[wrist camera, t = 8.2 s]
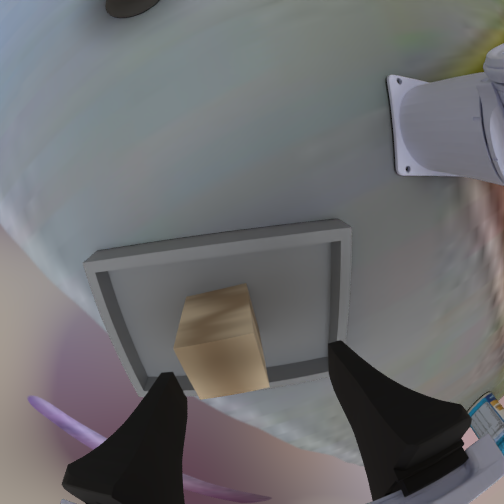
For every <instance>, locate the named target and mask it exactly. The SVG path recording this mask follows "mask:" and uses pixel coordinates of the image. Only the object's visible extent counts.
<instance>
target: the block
mask: <svg viewBox="0 0 504 504" xmlns="http://www.w3.org/2000/svg"><path fill="white" fill-rule="evenodd" d="M173 350H174V352H175V354H176V356H177V358H178V359H179V361H180V363H181V365H182V367H183V369H184V371H185V373H186V375H187V377H188V378H189V380H190V382H191V384H192V386H193V388H194V389H195V391H196V393H197V395H198V396H199V398H200V400H201V399H208V398H215V397H221V396H227V395H233V394H239V393H244V392H249V391H254V390H259V389H264V388H268V387H270V386H269V380H268V375H267V370H266V364H265V359H264V353H263V348H262V343H261V337H260V332H259V328H258V325H257V321H256V317H255V314H254V310H253V306H252V302H251V299H250V295H249V291H248V288H247V284H246V283H244V284H240V285H236V286H231V287H227V288H223V289H219V290H214V291H210V292H206V293H201V294H197V295H192V296H188V297H186V300H185V303H184V307H183V311H182V315H181V319H180V323H179V327H178V331H177V335H176V339H175V343H174V347H173Z"/></svg>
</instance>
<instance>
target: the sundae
mask: <svg viewBox="0 0 504 504" xmlns="http://www.w3.org/2000/svg"><path fill="white" fill-rule="evenodd" d="M158 1H159V0H106V11H107V12H108V13H109V14H110V15H111V16H114V17H117V18H125V17H131V16H134V15H137V14H140V13H142V12H144V11H146V10H148V9H149V8H151V7H152V6H154V5H155V4H156V3H157V2H158Z"/></svg>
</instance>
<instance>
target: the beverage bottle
mask: <svg viewBox="0 0 504 504" xmlns="http://www.w3.org/2000/svg"><path fill="white" fill-rule="evenodd" d="M468 414H469V415H470V417H471V418H472V422H471V425H470V427H471V428H472V430H473V431H474V433H475V434H476V436H477V437H478V439H481V438H482V437H483V436H484V435H486V434H490V436H491V437H492V439H493V440H494V442H495V443H496V445H497V446H498V448H499V449H500V451H501V452H502V454H503V456H504V408H503V407H502V405H501V404H500V403H499V402H498V401H497V399H496V398H495V397H494V395H493V394H492V393H491V392H489V393H486V394H485V395H483V396H482V397H481V398H480V399H479V400H477V401H476V402H475V403H474V404H473V406H472V407H471V408H470V409H469V410H468Z"/></svg>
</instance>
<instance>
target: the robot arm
mask: <svg viewBox="0 0 504 504" xmlns="http://www.w3.org/2000/svg"><path fill="white" fill-rule="evenodd" d="M483 69H484V71H485V72H482V73H476V74H470V75H464V76H459V77H454V78H449V79H445V80H440V81H436V82H431V83H429V82H425V81H421V80H416V79H412V78H407V77H403V76H397V75H389V76H388V77H387V85H388V92H389V99H390V106H391V114H392V123H393V134H394V147H395V165H396V172H397V174H399V175H402V176H461V177H468V178H473V179H478V180H482V181H486V182H490V183H494V184H498V185H502V186H504V44H501V45H499V46H497V47H495V48H493V49H492V50H490V51H489V52H488V53H487V55H486V60H485V62H484V65H483ZM397 80H398V81H399V84H398V83H397ZM406 167H408V171H407V172H406ZM328 369H329V376H330V379H331V383H332V385H333V388H334V391H335V393H336V396H337V398H338V400H339V402H340V404H341V406H342V408H343V410H344V412H345V414H346V416H347V419H348V421H349V423H350V425H351V427H352V429H353V432H354V434H355V437H356V440H357V443H358V447H359V450H360V453H361V456H362V460H363V463H364V467H365V470H366V474H367V478H368V482H369V486H370V490H371V495H372V500H373V501H372V502H370V503H367V504H469V503H470V502H471V501H473V500H474V499H475V498H477V497H478V496H479V495H481V494H482V493H483V492H484V491H486V490H487V489H488V488H489V487H491V486H492V485H493V484H494V483H496V482H497V481H498V480H499V479H500V478H501V477H502V476H504V456H503V454H502V452H501V451H500V449H499V448H498V446H497V445H496V443H495V442H494V440H493V439H492V437H491V436H490V434H486V435H484V436H483V437H482V438H481V439H479V440H478V441H476V442H475V443H474V444H472V445H471V446H470V447H469V448H467V449H466V450H465V451H464V449H463V448H462V446H463V445H464V442H463V441H462V439H461V438H462V436H463V435H464V434H465V432H466V431H467V430H468V428H469V427H470V425H471V422H472V418H471V417H470V415H469V414H468V412H467V411H466V410H465V409H464V407H463V406H462V405H461V404H456V403H451V402H446V401H442V400H438V399H435V398H431V397H428V396H425V395H423V394H420V393H418V392H415V391H413V390H411V389H408V388H406V387H404V386H402V385H400V384H399V383H397V382H395V381H393V380H392V379H390V378H388V377H387V376H385V375H384V374H382V373H381V372H379V371H378V370H376V369H375V368H374V367H372V366H371V365H370V364H368V363H367V362H366V361H365V360H363V359H362V358H361V357H360V356H358V355H357V354H356V353H355V352H354V351H353V350H352V349H350V348H349V347H348V346H347V345H346V344H345V343H344V342H343V341H341V340H339V341H335V342H332V343H328ZM186 424H187V397H186V395H185V394H184V392H183V390H182V388H181V386H180V384H179V382H178V380H177V379H176V377H175V375H174V373H173V372H163V373H161V374H160V375H159V376H158V378H157V379H156V381H155V382H154V384H153V385H152V387H151V388H150V390H149V391H148V393H147V394H146V395H145V397H144V398H143V400H142V401H141V402H140V404H139V405H138V407H137V408H136V409H135V410H134V412H133V413H132V414H131V415H130V417H129V418H128V419H127V420H126V421H125V423H124V424H123V425H122V426H121V427H120V428H119V429H118V430H117V431H116V432H115V433H114V434H113V435H111V436H110V437H109V438H108V439H107V440H106V441H104V442H103V443H102V444H101V445H100V446H98V447H97V448H96V449H94V450H93V451H91V452H90V453H88V454H87V455H85V456H83V457H82V458H80V459H78V460H76V461H74V462H73V463H71V464H68V466H67V469H66V472H65V476H64V479H63V482H62V485H63V487H64V489H65V490H67V491H68V492H70V493H71V494H72V495H74V496H75V497H77V498H79V499H80V500H82V501H83V502H85V503H86V504H185V503H184V494H183V478H182V456H183V455H182V454H183V446H184V439H185V432H186ZM60 504H76V503H73V502H70V501H67V500H64V499H62V500H61V503H60Z"/></svg>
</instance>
